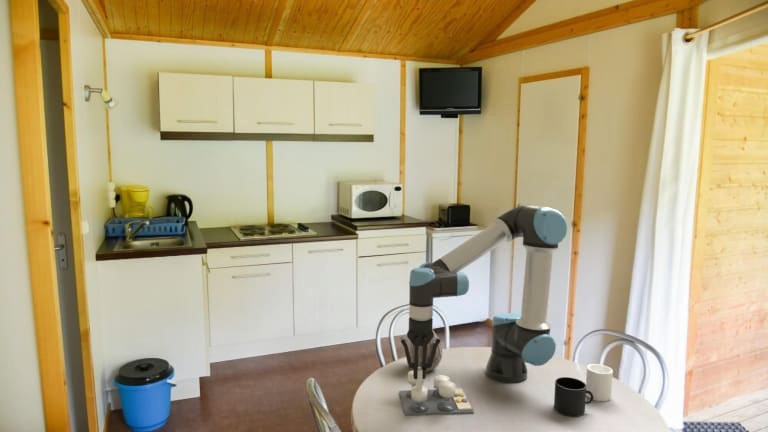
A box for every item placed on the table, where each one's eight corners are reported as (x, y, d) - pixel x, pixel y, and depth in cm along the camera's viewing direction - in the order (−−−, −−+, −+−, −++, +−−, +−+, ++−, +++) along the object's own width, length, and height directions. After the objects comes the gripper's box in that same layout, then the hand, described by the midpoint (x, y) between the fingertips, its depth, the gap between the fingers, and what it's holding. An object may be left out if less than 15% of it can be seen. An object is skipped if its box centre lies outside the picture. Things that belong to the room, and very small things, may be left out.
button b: (452, 395, 166) (453, 380, 165) (456, 403, 161) (456, 388, 160) (437, 395, 166) (437, 381, 165) (440, 403, 160) (440, 388, 160)
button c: (421, 383, 174) (421, 370, 174) (424, 390, 169) (424, 376, 168) (406, 384, 174) (407, 370, 173) (408, 391, 169) (408, 377, 168)
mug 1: (596, 418, 158) (598, 391, 157) (557, 416, 160) (558, 388, 159) (588, 404, 167) (590, 378, 166) (551, 401, 169) (552, 376, 168)
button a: (447, 388, 175) (447, 374, 175) (450, 395, 170) (450, 381, 169) (432, 389, 175) (432, 375, 174) (435, 396, 170) (435, 381, 169)
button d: (425, 399, 165) (426, 385, 165) (428, 407, 160) (428, 392, 160) (410, 400, 165) (410, 385, 164) (412, 407, 160) (412, 392, 159)
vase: (443, 376, 188) (444, 331, 186) (408, 375, 188) (409, 330, 186) (440, 362, 201) (441, 319, 199) (407, 361, 201) (407, 319, 199)
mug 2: (596, 385, 182) (598, 358, 181) (615, 400, 170) (617, 373, 169) (575, 386, 181) (577, 359, 180) (593, 402, 169) (594, 374, 168)
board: (461, 390, 177) (461, 386, 176) (473, 413, 161) (473, 408, 161) (399, 392, 175) (399, 388, 175) (405, 415, 159) (405, 411, 159)
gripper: (438, 313, 164) (436, 382, 166) (398, 313, 162) (397, 383, 165) (443, 320, 156) (441, 393, 159) (401, 321, 155) (400, 394, 158)
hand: (419, 388), depth 162 cm, fingers closed
